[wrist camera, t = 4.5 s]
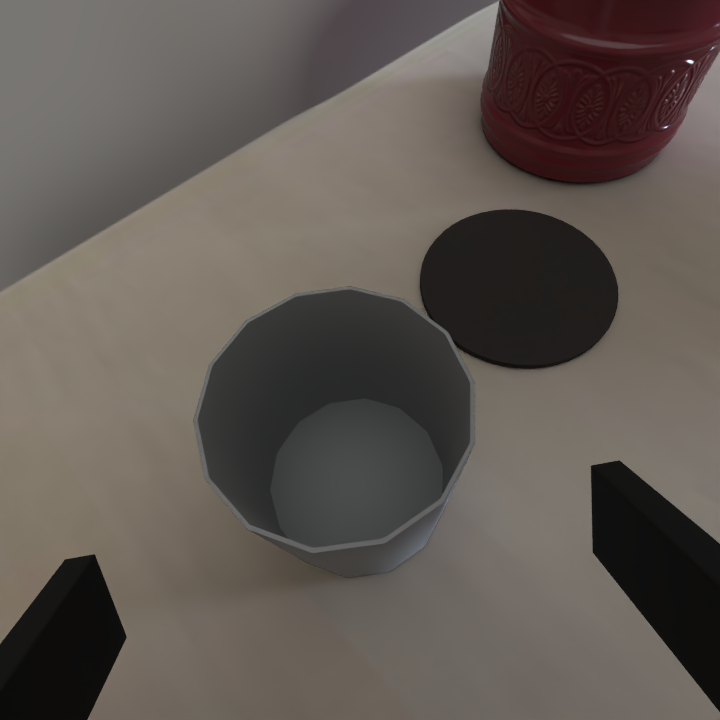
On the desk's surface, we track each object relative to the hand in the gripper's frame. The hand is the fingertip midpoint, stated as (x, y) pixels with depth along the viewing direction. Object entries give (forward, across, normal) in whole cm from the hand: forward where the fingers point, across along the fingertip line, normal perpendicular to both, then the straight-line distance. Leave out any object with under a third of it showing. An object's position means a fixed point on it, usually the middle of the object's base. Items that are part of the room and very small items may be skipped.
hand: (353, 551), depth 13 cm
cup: (+10, 0, -4) cm, 11 cm away
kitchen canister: (+26, +19, +12) cm, 34 cm away
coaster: (+17, +11, +3) cm, 20 cm away
